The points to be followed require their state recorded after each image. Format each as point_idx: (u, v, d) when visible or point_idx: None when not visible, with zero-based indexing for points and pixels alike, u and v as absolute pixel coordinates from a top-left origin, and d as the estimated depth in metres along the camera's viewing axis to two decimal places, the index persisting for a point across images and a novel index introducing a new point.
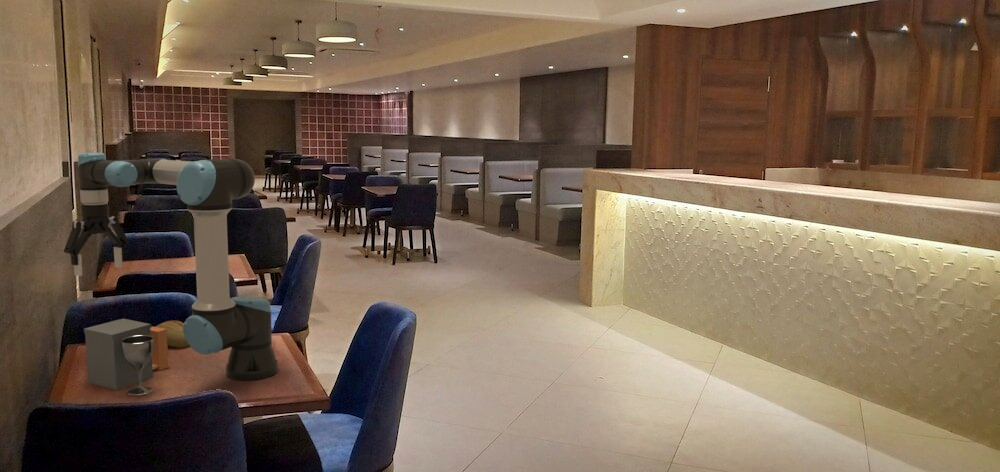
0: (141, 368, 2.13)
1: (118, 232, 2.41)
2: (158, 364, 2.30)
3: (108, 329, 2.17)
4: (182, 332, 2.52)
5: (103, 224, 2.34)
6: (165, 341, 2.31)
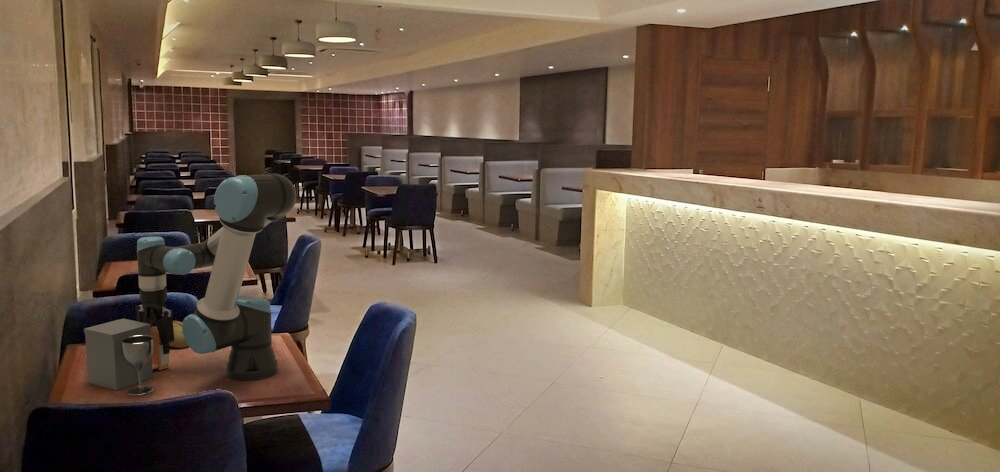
0: (141, 368, 2.13)
1: None
2: (158, 364, 2.30)
3: (108, 329, 2.17)
4: (182, 332, 2.52)
5: (151, 310, 2.28)
6: None
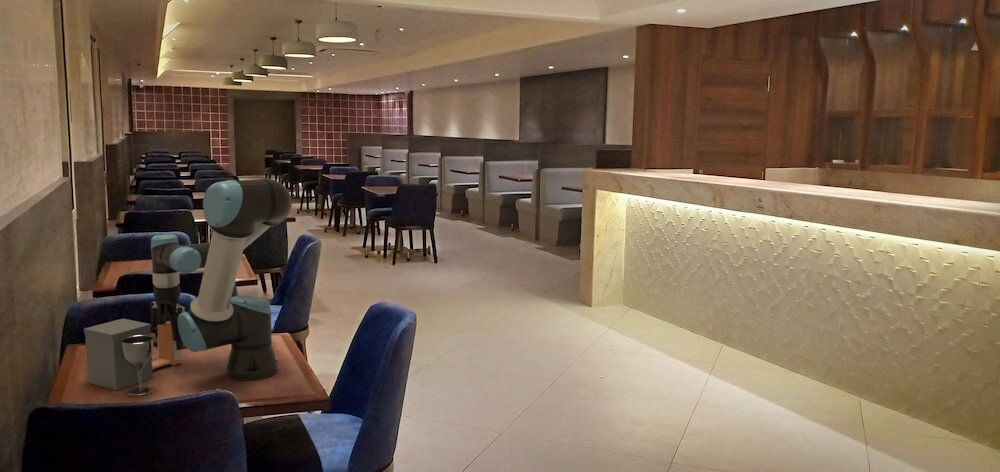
0: (141, 368, 2.13)
1: None
2: (172, 360, 2.35)
3: (108, 329, 2.17)
4: None
5: (165, 307, 2.32)
6: None
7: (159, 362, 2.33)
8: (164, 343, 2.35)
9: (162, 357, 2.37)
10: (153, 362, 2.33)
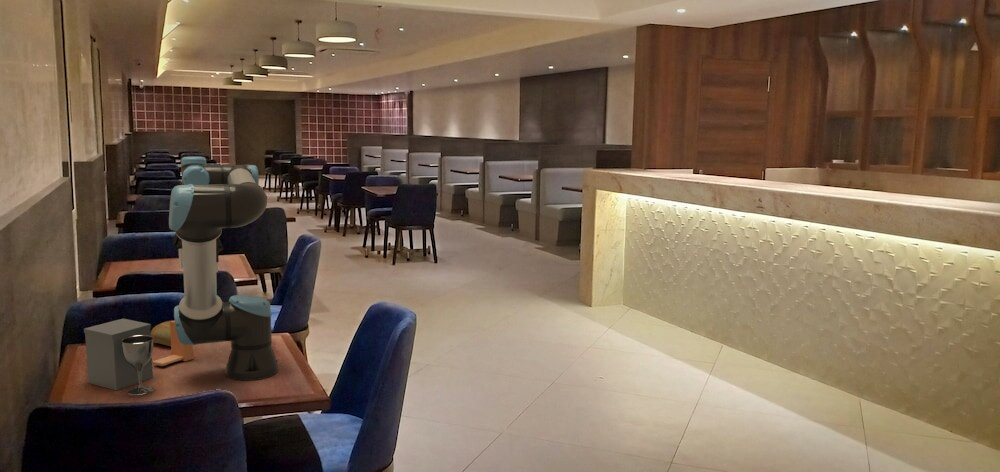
0: (141, 368, 2.13)
1: None
2: (184, 356, 2.39)
3: (108, 329, 2.17)
4: None
5: None
6: None
7: (172, 358, 2.37)
8: (176, 339, 2.39)
9: (174, 353, 2.41)
10: (166, 358, 2.37)
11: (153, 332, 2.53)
